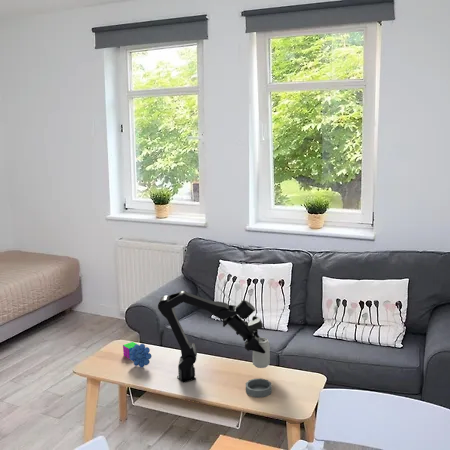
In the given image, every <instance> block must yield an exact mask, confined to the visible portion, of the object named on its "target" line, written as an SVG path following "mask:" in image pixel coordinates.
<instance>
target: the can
mask: <svg viewBox="0 0 450 450" xmlns="http://www.w3.org/2000/svg"><path fill="white" fill-rule="evenodd" d="M259 344H260V345H261V346H262V348H263V349H264V350H265V353H264V354H263V353H260V352H256V351H252V365H253V366H255V368H258V369H265V368H267V367H268V366H269V365H270V362H271V361H270V359H271V357H270V353H271V351H270V350H271V347H270V346H271V345H270V341H269V339H268V338H266V337H262V336H261V337H260V336H259Z"/></svg>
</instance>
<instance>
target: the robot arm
mask: <svg viewBox="0 0 450 450" xmlns="http://www.w3.org/2000/svg"><path fill="white" fill-rule="evenodd" d="M182 303H184V304H187V305H190V306H193V307H196V308H198V309H202V310H204V311H206V312H209V313H210V314H211V315H213V316H215V317H216V318H218V319H219V320H222V327H223V328H225V327H226V326H227V325H228V326H229V327H230V328H231V329H232V330H234V332H235V335H237V336H240V337H241V338H242V341H243V342H244V349H245V350H246V352H250V351H252V352H253V351H256V352H260V353H263V354H264V353H265V350H264V349H263V348H262V346H261V345H260V344H259V337H260V335H259V334H258V330H259V329H262V328H264V324H263V322H262V319H261V318H260V317H259V316H257V315H253V316H252V317H251V319H252V320H250V321H249V322H248V321H247V319H248V318H249V316H251V315H252V314H253V313H254V312H255V311H256V308H255V307H254V306H253V305H254V304H252V303H251V302H250V301H247V300H246V299H242V300H241V302H240V303H239V304H238V305H232V304H228V303H226V302H223V301H218V300H217V301H213V300H210V299H209V300H208V299H206V298H203V297H201V296H199V295H195V294H192V293H190V292H188V291H186V290H181V291H179V292H176V293H172V294H169V295H163V296H161V297H160V299H159V301H158V304H157V309H158V310H159V312H160V313H161V315H162V316H163V317H164V318H165V319H166V320H167V322H168V324H169V326H170V329H171V331H172V333H173V335H174V337H175V339H176V341H177V343H178V345H179V349H180V353H181V354H180V355H181V356H180V357H179V361H178V365H177V368H178V372H177V373H178V375H177V377H176V378H177V379H178V380H179V381H180V382H182V383H184V384H185V383H187V382H191V381H194V380H196V379H197V377H195V376H196V368H195V365H194V364H195V363H196V361H197V357H198V356H197V355H198V348H197V347H196V345H195V342H192V343H191V342H190V341H189V340H188V337H187V335H186V333H185V332H184V330H183V327H182V325H181V323H180V321H179V319H178V316H177V314H176V310H175V307H177V306H179V305H181V304H182ZM245 319H246V320H245Z"/></svg>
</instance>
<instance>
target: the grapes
mask: <svg viewBox="0 0 450 450" xmlns="http://www.w3.org/2000/svg"><path fill="white" fill-rule="evenodd" d="M150 351H151V349H150V348H149V347H148V346H146V345H145V343H140V344H139V343H136V345H135V346H134V349H132V350H131V351H130V353H131V354H132V356H131V357H130V359H129V360H131V362H133V365H134V366H135V367H139V368H142V369H143V368H144V367H145V366H149V364H150V360H151V359H152V354H151V353H150Z"/></svg>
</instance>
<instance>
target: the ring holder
mask: <svg viewBox="0 0 450 450" xmlns="http://www.w3.org/2000/svg"><path fill="white" fill-rule="evenodd" d="M272 387H273V385H272V382H271V381H269V380H268V379H265V378H253V379H249V380H248V381H246V382H245V393H246V395H247V396H250V397H253V398H266V397H268V396H270V395H271V394H272V393H273V392H272V391H273V388H272Z"/></svg>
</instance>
